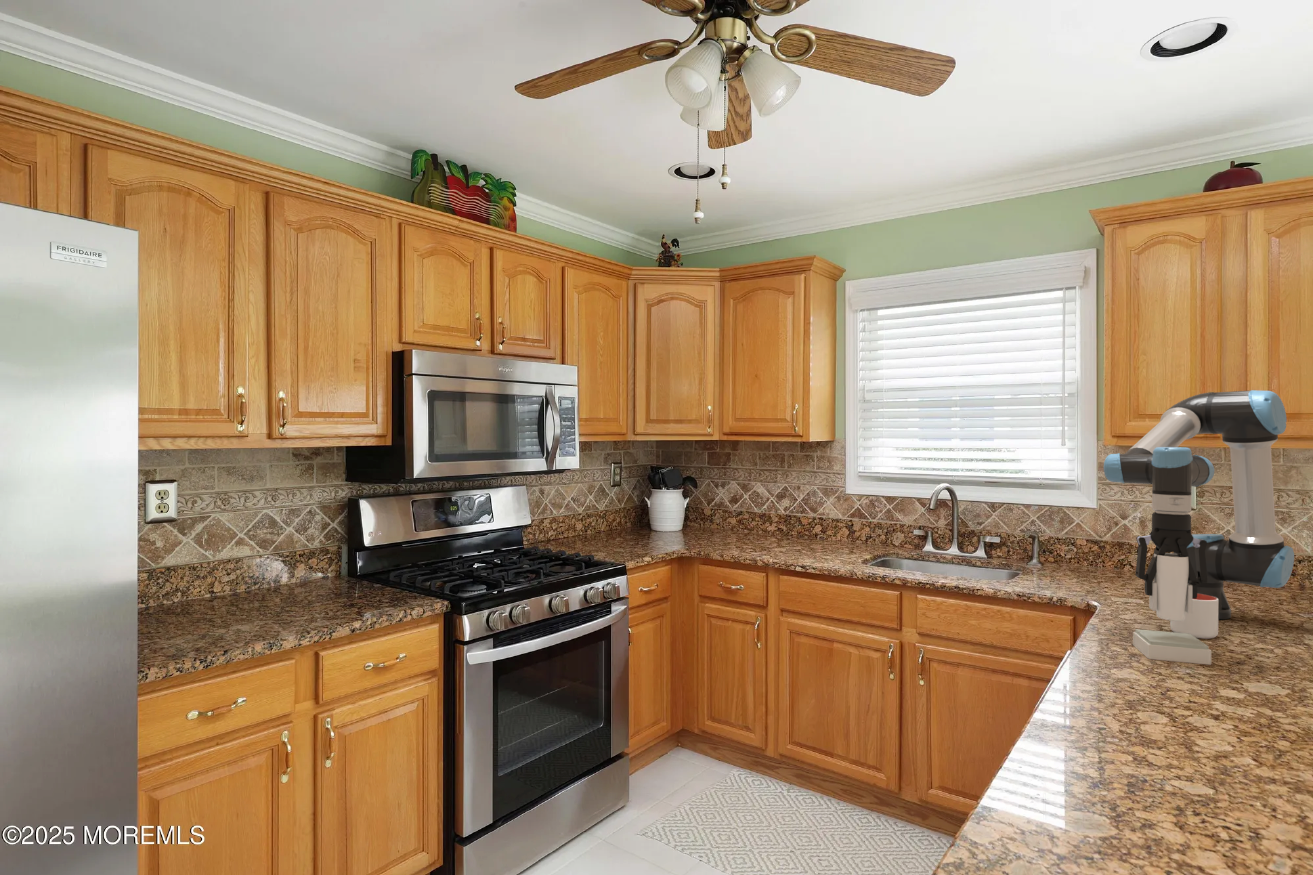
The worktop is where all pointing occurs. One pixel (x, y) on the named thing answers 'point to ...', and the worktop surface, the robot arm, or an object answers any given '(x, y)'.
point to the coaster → (1171, 646)
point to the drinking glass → (1171, 586)
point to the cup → (1199, 618)
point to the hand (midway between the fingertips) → (1170, 610)
